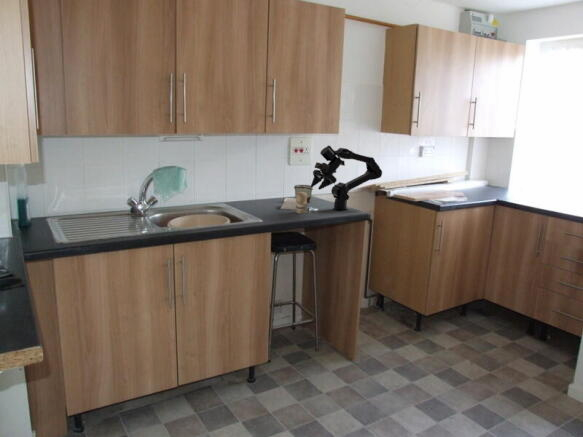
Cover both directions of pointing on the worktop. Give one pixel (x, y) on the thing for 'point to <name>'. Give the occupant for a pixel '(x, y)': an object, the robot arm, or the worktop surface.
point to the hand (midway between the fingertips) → (314, 187)
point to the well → (289, 204)
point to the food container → (304, 190)
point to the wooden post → (301, 202)
